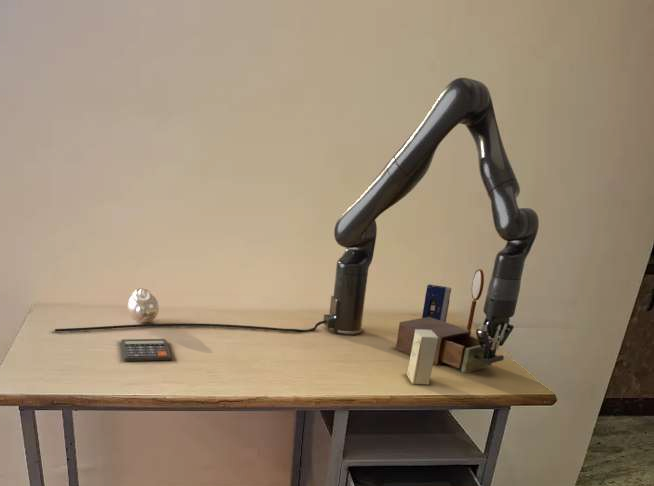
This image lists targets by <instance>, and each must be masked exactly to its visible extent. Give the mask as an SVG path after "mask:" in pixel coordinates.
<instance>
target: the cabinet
mask: <svg viewBox="0 0 654 486" xmlns="http://www.w3.org/2000/svg"><path fill="white" fill-rule="evenodd" d="M415 329H423V330H432V331H433V332H434V333H435V334H436V335H437V337H438V341H437V346H436V351H435V356H434V361H433V365H434V366H440V365H443V364H445V363H444V362H441V361H439V357H440V352H441V346H442V341H443V339H445V338H450V337H455V336H460V335H464V334H467V335H470V336H472V330H471V331H470V330H467V328H463V327H461V326H458V325H454V324H452V323H449V322H447V321H446V322H443V321H440V320H437V319H434V318H431V317H426V318H422V317H421V318H415V319H410V320H403V321H399V323H398V332H397V337H396V338H397V339H396V344H395V350H397V351H399V352H401V353H404V354H407V355H409V356H411V351H412V345H413V340H414V334H415Z"/></svg>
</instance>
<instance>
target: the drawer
mask: <svg viewBox="0 0 654 486" xmlns="http://www.w3.org/2000/svg"><path fill="white" fill-rule="evenodd" d="M484 352H485V348H484V347H481V346H480V344H479V341H478V338H477V336H472V335H467V334H464V335H460V336H455V337H450V338H445V339H443V341H442V346H441V352H440V357H439V361H441V362H444V364H447V365H450V366H451V367H454V368H456V369H461V370H460V371H461V372H463V373H468V372H472V371H475V370H480V369H484V368H488V367H491V366H492V364H494V363H498V362H502V361H503V360H504V359H505V357H504V355H503V354H500V355H497V354H495V357H492V358H488V359H485V358H483V357H484ZM483 361H485V363H484V362H483ZM490 363H491V364H490Z"/></svg>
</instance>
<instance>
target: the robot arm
mask: <svg viewBox="0 0 654 486" xmlns="http://www.w3.org/2000/svg"><path fill="white" fill-rule="evenodd" d="M460 124H461V125H465V127H466V128H467V130H468V132H469V133H470V135H471V138H472V139H473V141H474V145H475V147H476V151H477V162H478V172H479V176H480V179H481V182H482V185H483V187H484V189H485V192H486V195H487V196H488V199H489V201H490V207H491V208H490V209H491V214H492V222H493V227H494V230H495V231H496V233H497V235H498V236H499V238H501V239H502V240H503V241H506V244H505V246H504V248H502V249H501V250H499V251H497V252H496V254H495V257H494V262H493V267H492V270H491V271H492V272H491V276H490V280H489V282H488V286H487V290H486V296H485V300H484V305H483V313H484V315H485V318H484V321H483V324H482V327H481V328H476V330H475V335H476V338H478V341H479V344H480V346H481V347H484V348H485V352H484V357H483V358H485V359H488V358H492V357H495V355H496V353H497V350H498V349H499V347H502V346H503V345H504V344H505V342H506V341H507V339H508V338H509V336H510V335H511V333H512V332H513V330H514V327H515V326H514V325H512V324H510V320H511V319H510V318H513V317H514V316H515V313H516V308H517V303H518V299H519V295H520V290H521V284H522V283H521V282H522V276H523V272H524V268H525V263H526V260H527V257H528V256H529V253H530V252H531V249H532V247H533V245H534V242H535V240H536V238H537V235H538V231H539V227H540V221H539V216H538V213H537V212H536V211H535V210H534V209H532V208H529V207H521V208H519V205H518V201H517V198H518V197H519V195H520V193H521V187H520V184H519V182H518V179H517V176H516V174H515V171H514V169H513V166H512V164H511V162H510V159H509V157H508V155H507V152H506V149H505V146H504V143H503V140H502V136H501V133H500V130H499V129H500V128H499V125H498V122H497V118H496V113H495V109H494V104H493V100H492V96H491V93H490V90H489V88H488V87H487V85H486V84H484V83H483V82H482V81H479V80H477V79H473V78H468V77H458V78H455V79H454V80H452V81H451V82H449V83H448V84H447V85H446V86H445V87H444V89H442V92H441V93H440V94H439V95H438V97H437V99H436V100H435V102H434V103H433V105H432V106H431V107H430V109H429V111H428V112H427V114H426V115H425V116H424V118H423V119H422V121H421V122H420V123H419V124H418V126H417V127H416V128H415V129H414V131H412V133H410V135H409V137H408V138H407V139H406V141H405V142H404V143H403V144H402V145H401V147H400V148H398V150H397V151H396V152H395V153H394V155H393V156H392V157H391V158H390V159H389V160H388V162H387V163H386V164H385V165H384V167H383V168H382V169H381V170H380V172H379V173H378V174H377V175H376V177H375V178H374V179H373V180H372V182H371V183H370V184H369V186H368V187H367V188H366V189H365V190H364V192H363V193H362V194H361V195H360V196H359V197H358V199H357V200H356V201H354V203H352V204H351V205H350V206H349V208H347V209H346V210H345V211H344V212H343V213H342V214H341V215H340V217H338V219H337V220H336V223H335V225H334V229H333V236H334V240H335V241H336V243H337V244H338V245H339V246H340V247H342V248H344V249H345V250H344V253H342V255H341V257H339V258H338V259H337V261H336V267H335V277H334V286H333V295H331V296H330V305H329V314H323V320H321V321H319V322H317V323H315V325H314V327H312V328H309V329H297V328H280V327H270V326H267V327H266V326H258V325H257V326H256V325H240V324H223V323H222V324H221V323H195V322H193V323H190V322H189V323H188V322H186V323H185V322H184V323H183V322H182V323H181V322H180V323H179V322H178V323H173V322H172V323H171V322H170V323H141V324H140V323H139V324H122V325H104V326H91V327H69V328H54V332H55V333H58V332H78V331H95V330H96V331H97V330H113V329H114V330H115V329H129V328H149V327H213V328H214V327H215V328H216V327H217V328H219V327H220V328H233V329H234V328H236V329H237V328H238V329H254V330H264V331H265V330H266V331H278V332H296V333H305V332H306V333H307V332H314V331H315V330H317V328H318V327H319V326H320V325H322V324H323V325H324V326H325V327H326V328H327V329H329V330H330V331H331V332H332V333H333V334H339V335H347V336H350V335H358V334H361V333H362V330H363V329H362V327H363V318H364V309H365V300H366V292H367V285H368V277H369V268H370V266H371V264H372V262H373V258H374V253H375V247H376V241H377V234H378V233H377V232H378V229H377V228H378V227H377V218H379V217H380V216H381V215H382V214H383V213H384V212H386V211H387V210H388V209H390V208H391V207H393V206H394V205H395V204H397V203H398V202H400V201H401V200H402V199H404V198H405V197H406V196H408V194H410V193H411V192H412V191H413V190H414V189H415V188H416V186H417V185H419V183H420V182H421V181H422V180H423V178H424V177H425V175H426V174H427V173H428V171H429V169H430V167H431V165H432V161H433V159H434V157H435V153H436V151H437V150H438V147H439V146H440V144H441V143H442V142H443V140H444V139H446V137H447V136H448V135H449V134H450V133H451V131H453V129H454V128H456V127H457V126H458V125H460ZM483 362H484V363H485V361H483ZM490 364H491V363H490ZM491 365H492V364H491Z"/></svg>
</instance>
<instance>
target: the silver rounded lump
mask: <svg viewBox="0 0 654 486" xmlns="http://www.w3.org/2000/svg"><path fill="white" fill-rule="evenodd" d="M159 310H160V306H159V302H158V299H157V298H156V297H155V296H154V295H153V293H151V292H150V291H149V290H148V289H146V288H141V287H140V288H137V289H135V290H134V292H133V293H132V295H131V296H130V297H129V299H128V303H127V312H128V315H130V317H131V318H132V319H133V320H134V321H136V322H137V323H141V324H148V323H150V322H152V321H154V320H155V319H156V318H157V316H158V314H159Z"/></svg>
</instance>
